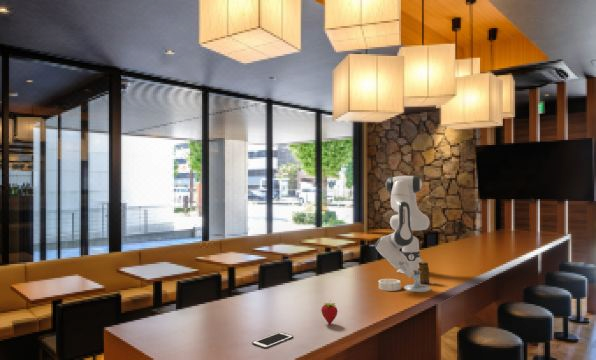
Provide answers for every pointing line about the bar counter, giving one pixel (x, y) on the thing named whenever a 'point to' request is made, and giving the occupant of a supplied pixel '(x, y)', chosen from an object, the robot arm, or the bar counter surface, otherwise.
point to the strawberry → (329, 312)
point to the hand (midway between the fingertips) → (417, 278)
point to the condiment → (424, 273)
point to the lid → (417, 285)
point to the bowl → (389, 284)
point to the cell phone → (272, 340)
